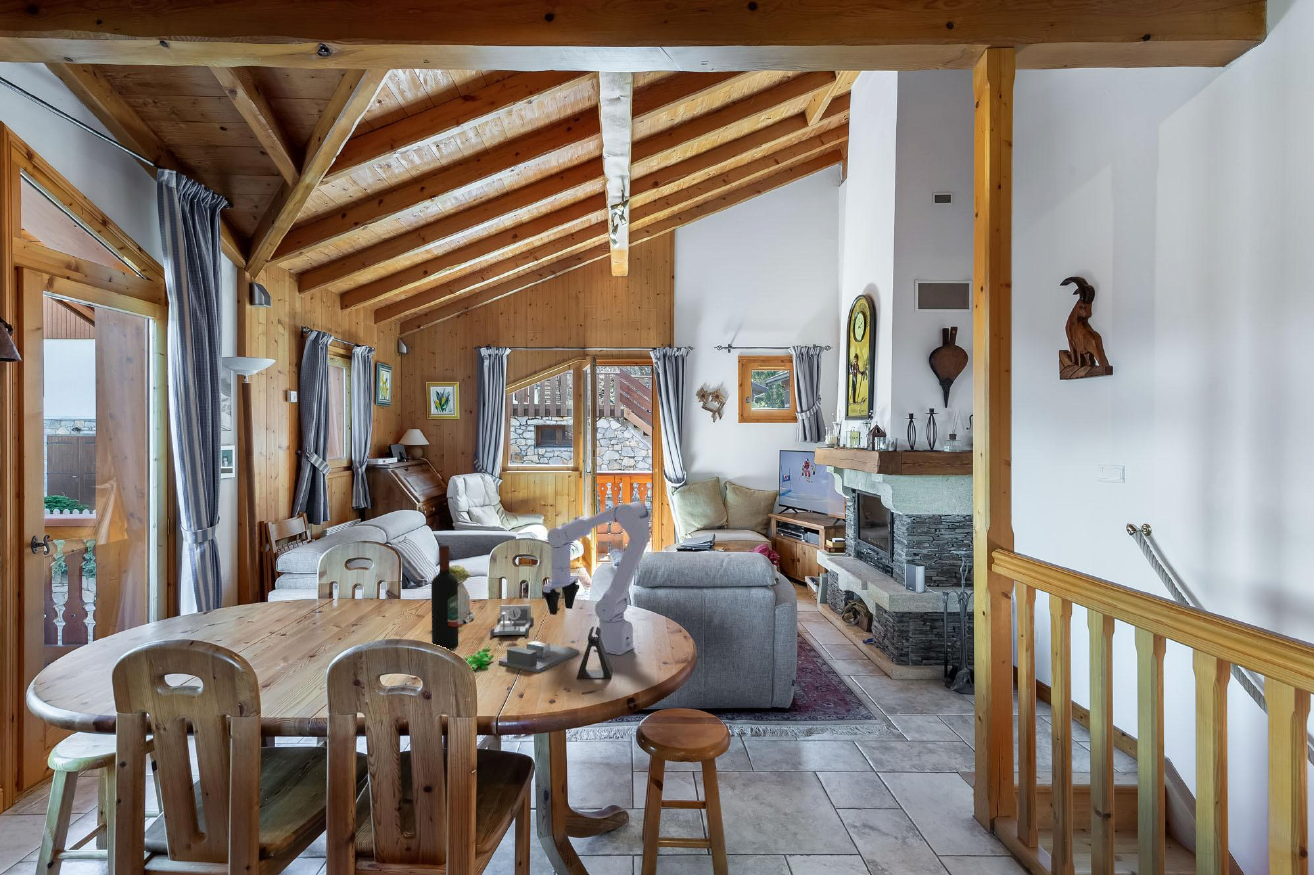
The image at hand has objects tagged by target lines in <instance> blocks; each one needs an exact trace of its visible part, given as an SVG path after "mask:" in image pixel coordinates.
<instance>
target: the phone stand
mask: <svg viewBox="0 0 1314 875" xmlns="http://www.w3.org/2000/svg"><path fill="white" fill-rule="evenodd" d="M594 628H595V627H594V626H591V628H590V630H589V633H588V636H587V646H586V648H585V651H584V654H583V656H582V659H581V662H580V665H579V669H578V671H577V675H576V680H611V679H612V675H613V667H612V665H611V662H610V659H609V656H608V653H606V651H605V648H604V645H603V643H602V640H601V630H600V628H599V626H596V628H595V633H594ZM593 633H594V634H595V635H596V636H593ZM593 647H594V648H595V647H596V649H597V651H596V653H597V655H598V659H599V662H600V666H601V669H587V665H588V662H589V657H590V653H591V649H592V648H593Z"/></svg>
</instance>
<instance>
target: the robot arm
mask: <svg viewBox="0 0 1314 875" xmlns="http://www.w3.org/2000/svg"><path fill="white" fill-rule="evenodd" d="M650 517H651V513H650V512H649V509H648V507H647V505H646V504H645V503H644V502H642V501H641V500H640V501H639V500H635V501H632V502H629V503H622V504H619V505H616V506H615V505H614V506H612V507H609V508H607V509H604V510H602V511H601V512H598V513H597V514H595V515H592V516H590V517H588V518H587V517H585V516H580V515H578V516H575V517H573V520H572V521H570V522H563V523H561V526H559V527H553V528H552V529H550V530H549V532H548V533H547V542H548V544H549V545H550V551H551V552H550V554H551V557H550V560H551V562H550V563H551V574H550V575H551V578H550V579H549V581H548V582H547V583H546V584H544V585H542V590H541V591H542V592H541V595H542V597H543V598H544V599H545V602H546V604H547V607H548V612H549V614H550V615H554V616H556V615H557V614H558V606H559V599H560V596H561V592H560V591H557V590H558V589H562V591H563V596H564V606H565V609H567V610H572V609H573V606H574V602H575V598H576V596H577V593H578V591H579V589H580V584H579V577H578V576H574V575H572V576H571V547H572V543H573V542H575V541H577V540H578V541H579V539H583V538H584V537H587V536H589V535H590V534H591V533H592V529H594V528H596V527H599V526H601V525H603V524H606V523H609V522H613V523H618V524H619V526H621V528H622V529H623V530H624V531H625V532H626V534H627V535H628V538H629V540H628V542H627V544H626V547H625V548H624V549H625V550H624V552H623V554H622V556H621V559H620V561H619V564H618V566H617V568H616V571H615V573H614V575H613V578H612V581H611V583H610V585H609V587H608V588H607V590H605V591H604V593H603V596H602V597H601V598H600V599H599V600H598V601H597V602H596V604H595V607H594V612H595V615H596V617H597V618H598V623H599V626H598V627H599V628H600V630H601V640H602V643H603V645H604V648H605V651H606V654H613V655H617V656H622V655H623V654H625V653H627V652H629V651H631V650H633V649H634V648H635V646H634V628H633V624H632V622H630V621H628V620H626V619H625V612H626V610H627V609H628V604H629V603H628V598H629V596H630V593H629V592H628V591H629V589H630V585H631V583H632V582H633V579H634V576H635V574H636V571H637V569H638V568H639V564H640V562H641V560H642V558H643V555H644V553H645V550H646V547H647V545H648V543H649V540H650V536H651V533H650V532H651V531H650V521H649V520H650ZM592 649H593V651H596V652H597V649H596V647H595V646H594V648H592Z"/></svg>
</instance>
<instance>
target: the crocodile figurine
mask: <svg viewBox="0 0 1314 875" xmlns="http://www.w3.org/2000/svg"><path fill="white" fill-rule="evenodd" d="M491 651H492V648H489V647H487V648H485V647H484V648H483V649H481V650H478V651H477V653H476V654H473V655H470V656H469V657H465V658H463V660H466V661H467V662H468V663H469V664H470V666H471V667H472V669H473V670H472V671H475V670H476V669H477V668H478V667H479V668H480V669H487V668H488V665H487V664H488V663H491V661H492V660H493V659H494V656H495V655H494V654H490V655H489V652H491Z"/></svg>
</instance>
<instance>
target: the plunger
mask: <svg viewBox="0 0 1314 875" xmlns="http://www.w3.org/2000/svg"><path fill="white" fill-rule="evenodd" d="M550 645H551V643H547V642H543V641H538V640H537V641H536V640H532V641H529V642H527V643H526V649H529V650H534V651H537V657H540V658H545V657H547V656H550Z"/></svg>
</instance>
